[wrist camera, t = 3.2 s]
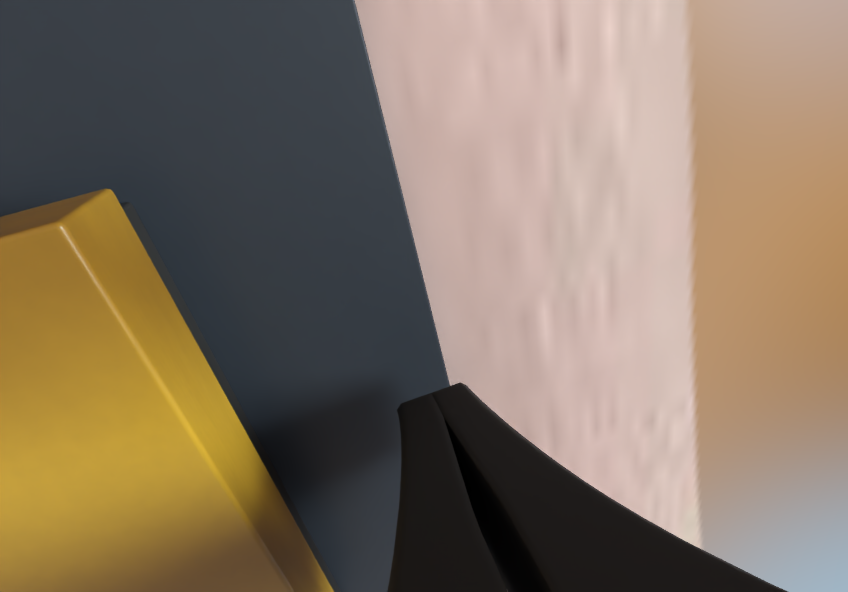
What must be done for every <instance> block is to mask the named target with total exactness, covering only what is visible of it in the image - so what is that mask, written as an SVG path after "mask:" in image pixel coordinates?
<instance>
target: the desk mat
mask: <svg viewBox="0 0 848 592" xmlns="http://www.w3.org/2000/svg"><path fill="white" fill-rule="evenodd" d="M101 189H111V190H112V191H113V192H114V194H115V196H116V198H117V199H118V201H119V203H123V202H130V203H131V204H132V205H133V207H134V209H135V210H136V212H137V214H138V216H139V218H140V220H141V222H142V223H143V225H144V227H145V229H146V231H147V233H148V235H149V236H150V238H151V240H152V242H153V244H154V246H155V248H156V249H157V251H158V253H159V255H160V257H161V259H162V261H163V262H164V264H165V266H166V268H167V270H168V272H169V274H170V275H171V277H172V279H173V281H174V283H175V285H176V287H177V288H178V290H179V292H180V294H181V296H182V298H183V299H184V301H185V303H186V305H187V307H188V309H189V311H190V312H191V314H192V316H193V318H194V320H195V322H196V324H197V325H198V327H199V329H200V331H201V333H202V335H203V337H204V338H205V340H206V342H207V344H208V346H209V348H210V350H211V351H212V353H213V355H214V357H215V359H216V361H217V363H218V364H219V366H220V368H221V370H222V372H223V374H224V376H225V377H226V379H227V381H228V383H229V385H230V387H231V389H232V390H233V392H234V394H235V396H236V398H237V400H238V402H239V403H240V405H241V407H242V409H243V411H244V413H245V415H246V416H247V418H248V420H249V422H250V424H251V426H252V427H253V429H254V431H255V433H256V435H257V437H258V439H259V440H260V442H261V444H262V446H263V448H264V450H265V452H266V453H267V455H268V457H269V459H270V461H271V463H272V465H273V466H274V468H275V470H276V472H277V474H278V476H279V478H280V479H281V481H282V483H283V485H284V487H285V489H286V491H287V492H288V494H289V496H290V498H291V500H292V502H293V504H294V505H295V507H296V509H297V511H298V513H299V515H300V517H301V518H302V520H303V522H304V524H305V526H306V528H307V530H308V531H309V533H310V535H311V537H312V539H313V541H314V542H315V544H316V546H317V548H318V550H319V552H320V554H321V555H322V557H323V559H324V561H325V563H326V565H327V567H328V568H329V570H330V572H331V574H332V576H333V578H334V580H335V581H336V583H337V585H338V587H339V589H340V591H341V592H387V591H388V585H389V579H390V573H391V567H392V560H393V553H394V546H395V537H396V528H397V519H398V511H399V500H400V481H401V431H400V422H399V416H398V412H397V409H398V407H399V406H400V404H401V403H404V402H407V401H409V400H412V399H415V398H418V397H421V396H424V395H426V394H429V393H432V392H435V391H438V390H441V389H443V388H446V387H449V386H450V384H449V380H448V376H447V372H446V368H445V364H444V360H443V356H442V352H441V348H440V344H439V340H438V336H437V332H436V328H435V324H434V320H433V316H432V311H431V307H430V303H429V299H428V295H427V291H426V287H425V283H424V279H423V275H422V271H421V267H420V263H419V259H418V255H417V251H416V247H415V243H414V239H413V235H412V231H411V227H410V223H409V219H408V215H407V211H406V207H405V202H404V198H403V194H402V190H401V186H400V182H399V178H398V174H397V170H396V166H395V162H394V158H393V154H392V150H391V146H390V142H389V138H388V134H387V130H386V126H385V122H384V118H383V114H382V110H381V106H380V102H379V97H378V93H377V89H376V85H375V81H374V77H373V73H372V69H371V65H370V61H369V57H368V53H367V49H366V45H365V41H364V37H363V33H362V29H361V25H360V21H359V17H358V13H357V9H356V5H355V1H354V0H0V217H2V216H6V215H9V214H13V213H17V212H20V211H24V210H28V209H31V208H35V207H39V206H42V205H46V204H50V203H53V202H57V201H61V200H65V199H68V198H72V197H76V196H79V195H83V194H87V193H90V192H94V191H98V190H101Z"/></svg>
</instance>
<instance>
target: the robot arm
mask: <svg viewBox="0 0 848 592" xmlns="http://www.w3.org/2000/svg"><path fill="white" fill-rule="evenodd" d="M397 412H398V416H399V422H400V431H401V481H400V500H399V511H398V519H397V528H396V537H395V546H394V553H393V560H392V567H391V573H390V579H389V585H388V591H387V592H787V591H785V590H783V589H781V588H779V587H776V586H774V585H772V584H770V583H768V582H766V581H764V580H761V579H760V578H758V577H755V576H753V575H751V574H750V573H748V572H745V571H744V570H742V569H740V568H738V567H736V566H733V565H732V564H730V563H727V562H726V561H723V560H722V559H720V558H717V557H715V556H714V555H712V554H709V553H708V552H706V551H704V550H702V549H700V548H698V547H696V546H694V545H692V544H690V543H688V542H686V541H684V540H682V539H680V538H678V537H677V536H675V535H673V534H671V533H669V532H668V531H666V530H664V529H662V528H660V527H659V526H657V525H655V524H653V523H651V522H650V521H648V520H646V519H644V518H643V517H641V516H639V515H638V514H636V513H634V512H633V511H631V510H629V509H628V508H626V507H624V506H623V505H621V504H619V503H618V502H616V501H614V500H613V499H611V498H609V497H608V496H606V495H605V494H603V493H602V492H600V491H598V490H597V489H595V488H594V487H592V486H591V485H589V484H588V483H586V482H585V481H583V480H582V479H580V478H579V477H578V476H576V475H575V474H573V473H572V472H570V471H569V470H567V469H566V468H565V467H563V466H562V465H560V464H559V463H557V462H556V461H555V460H553V459H552V458H551V457H549V456H548V455H547V454H545V453H544V452H542V451H541V450H540V449H539V448H537V447H536V446H535V445H534V444H532V443H531V442H530V441H528V440H527V439H526V438H525V437H523V436H522V435H521V434H519V433H518V432H517V431H516V430H514V429H513V428H512V427H511V426H510V425H508V424H507V423H506V422H505V421H504V420H503V419H501V418H500V417H499V416H498V415H497V414H496V413H494V412H493V411H492V410H491V409H490V408H489V407H488V406H487V405H486V404H485V403H483V402H482V401H481V400H480V399H479V398H478V397H477V396H476V395H475V394H474V393H473V392H472V391H471V390H470V389H469V388H468V387H467V386H466V385H464V384H462V383H458V384H455V385H452V386H449V387H446V388H443V389H441V390H438V391H435V392H432V393H429V394H426V395H424V396H421V397H418V398H415V399H412V400H409V401H407V402H404V403H401V404H400V406H399V407H398V409H397Z"/></svg>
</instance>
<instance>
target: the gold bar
mask: <svg viewBox="0 0 848 592" xmlns="http://www.w3.org/2000/svg"><path fill="white" fill-rule="evenodd" d="M0 592H341V591H340V589H339V587H338V585H337V583H336V581H335V580H334V578H333V576H332V574H331V572H330V570H329V568H328V567H327V565H326V563H325V561H324V559H323V557H322V555H321V554H320V552H319V550H318V548H317V546H316V544H315V542H314V541H313V539H312V537H311V535H310V533H309V531H308V530H307V528H306V526H305V524H304V522H303V520H302V518H301V517H300V515H299V513H298V511H297V509H296V507H295V505H294V504H293V502H292V500H291V498H290V496H289V494H288V492H287V491H286V489H285V487H284V485H283V483H282V481H281V479H280V478H279V476H278V474H277V472H276V470H275V468H274V466H273V465H272V463H271V461H270V459H269V457H268V455H267V453H266V452H265V450H264V448H263V446H262V444H261V442H260V440H259V439H258V437H257V435H256V433H255V431H254V429H253V427H252V426H251V424H250V422H249V420H248V418H247V416H246V415H245V413H244V411H243V409H242V407H241V405H240V403H239V402H238V400H237V398H236V396H235V394H234V392H233V390H232V389H231V387H230V385H229V383H228V381H227V379H226V377H225V376H224V374H223V372H222V370H221V368H220V366H219V364H218V363H217V361H216V359H215V357H214V355H213V353H212V351H211V350H210V348H209V346H208V344H207V342H206V340H205V338H204V337H203V335H202V333H201V331H200V329H199V327H198V325H197V324H196V322H195V320H194V318H193V316H192V314H191V312H190V311H189V309H188V307H187V305H186V303H185V301H184V299H183V298H182V296H181V294H180V292H179V290H178V288H177V287H176V285H175V283H174V281H173V279H172V277H171V275H170V274H169V272H168V270H167V268H166V266H165V264H164V262H163V261H162V259H161V257H160V255H159V253H158V251H157V249H156V248H155V246H154V244H153V242H152V240H151V238H150V236H149V235H148V233H147V231H146V229H145V227H144V225H143V223H142V222H141V220H140V218H139V216H138V214H137V212H136V210H135V209H134V207H133V205H132V204H131V203H130V202H123V203H119V201H118V199H117V198H116V196H115V194H114V192H113V191H112V190H111V189H101V190H98V191H94V192H90V193H87V194H83V195H79V196H76V197H72V198H68V199H65V200H61V201H57V202H53V203H50V204H46V205H42V206H39V207H35V208H31V209H28V210H24V211H20V212H17V213H13V214H9V215H6V216H2V217H0Z"/></svg>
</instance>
